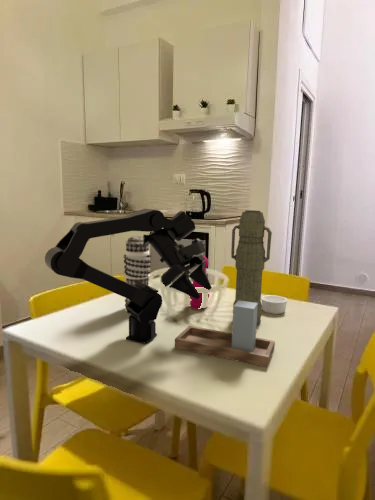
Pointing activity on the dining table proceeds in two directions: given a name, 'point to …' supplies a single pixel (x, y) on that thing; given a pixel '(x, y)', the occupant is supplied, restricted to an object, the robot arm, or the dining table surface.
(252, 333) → the slate post
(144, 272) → the decorative candle
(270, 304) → the ramekin
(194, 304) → the pepper mill
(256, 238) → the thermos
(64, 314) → the dining table surface
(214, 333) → the wooden tray
